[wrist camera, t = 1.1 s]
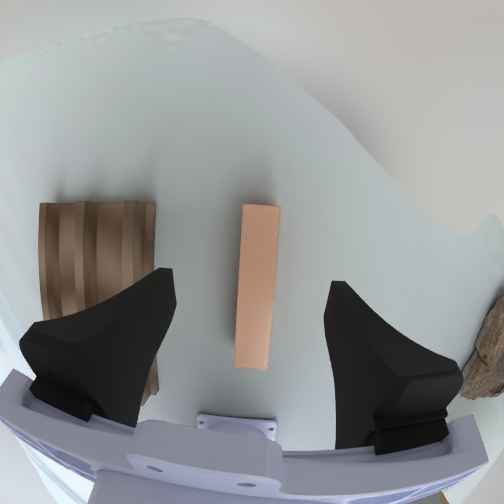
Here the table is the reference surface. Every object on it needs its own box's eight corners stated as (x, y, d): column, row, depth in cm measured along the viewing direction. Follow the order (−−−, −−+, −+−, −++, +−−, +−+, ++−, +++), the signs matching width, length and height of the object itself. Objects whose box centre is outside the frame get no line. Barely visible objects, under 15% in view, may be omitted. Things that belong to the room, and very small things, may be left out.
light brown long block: (266, 348, 24) (267, 369, 20) (238, 346, 24) (233, 367, 20) (277, 209, 23) (280, 206, 19) (246, 207, 23) (243, 203, 19)
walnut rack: (158, 390, 24) (147, 407, 21) (67, 364, 25) (51, 376, 22) (156, 204, 23) (141, 201, 20) (56, 204, 23) (36, 203, 20)
